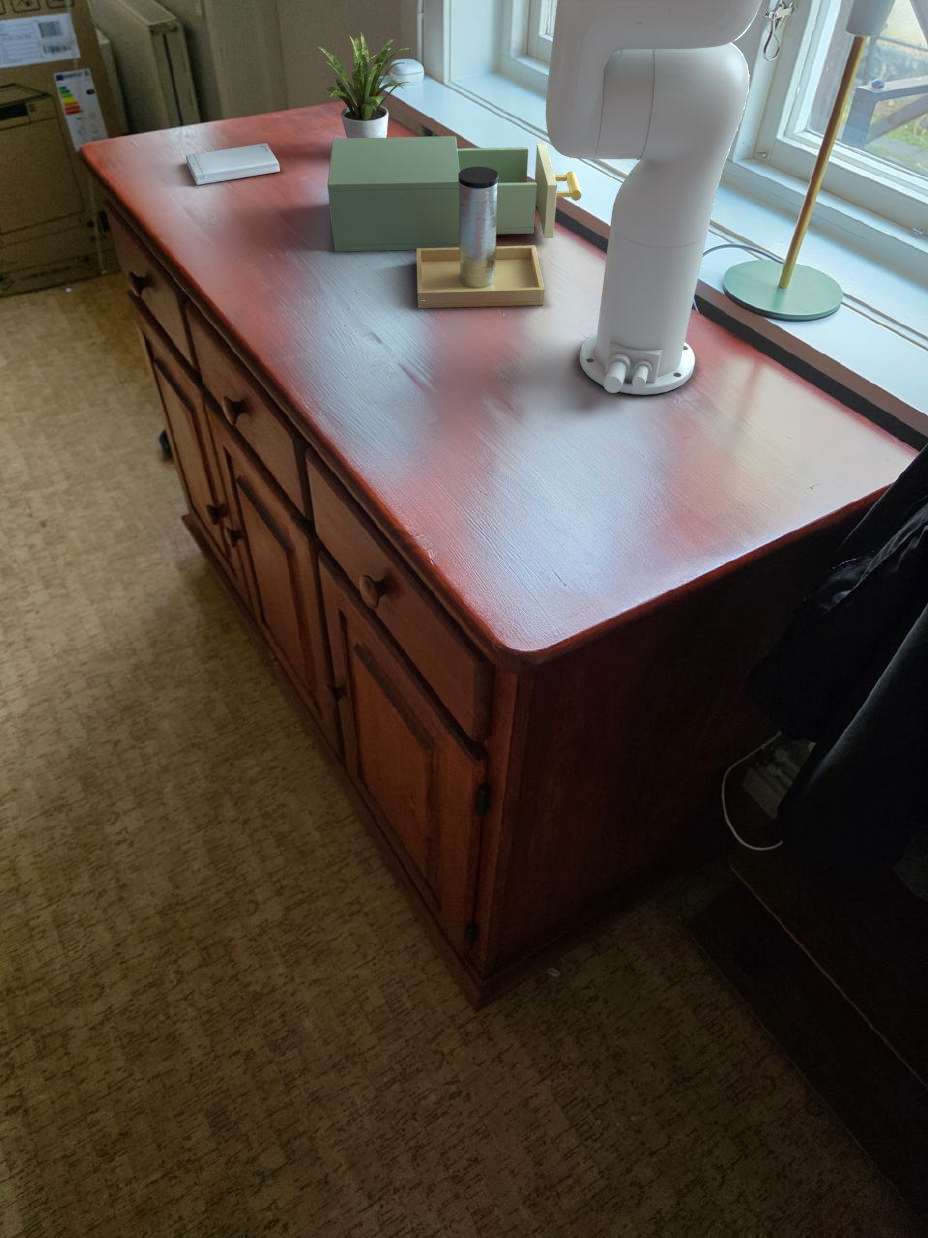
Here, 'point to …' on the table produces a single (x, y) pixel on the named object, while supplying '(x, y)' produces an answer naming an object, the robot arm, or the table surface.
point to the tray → (510, 288)
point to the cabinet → (394, 193)
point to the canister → (477, 225)
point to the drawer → (522, 187)
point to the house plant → (364, 92)
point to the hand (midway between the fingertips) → (616, 93)
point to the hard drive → (232, 163)
